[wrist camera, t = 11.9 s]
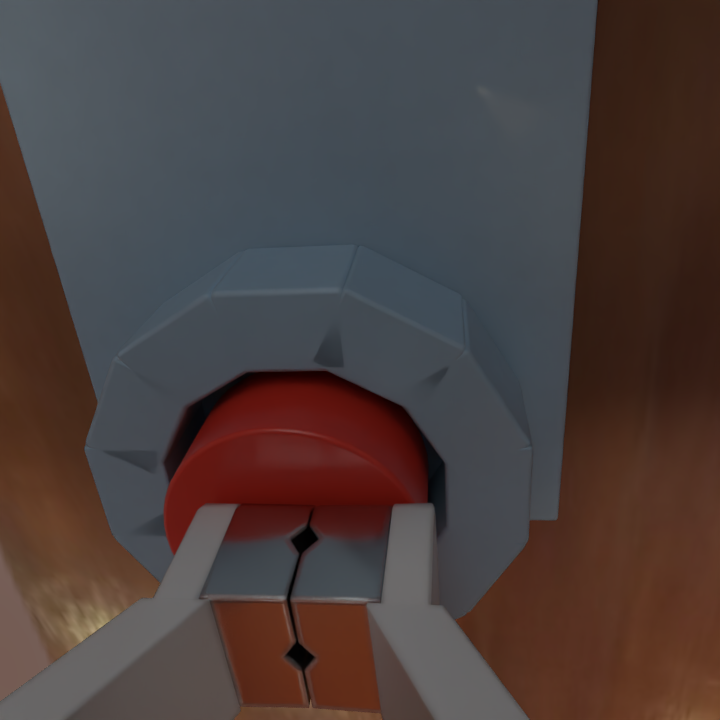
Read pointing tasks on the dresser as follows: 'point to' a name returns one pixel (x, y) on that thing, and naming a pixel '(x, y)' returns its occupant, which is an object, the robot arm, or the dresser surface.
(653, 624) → the dresser surface
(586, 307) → the dresser surface
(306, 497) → the button
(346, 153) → the button box
